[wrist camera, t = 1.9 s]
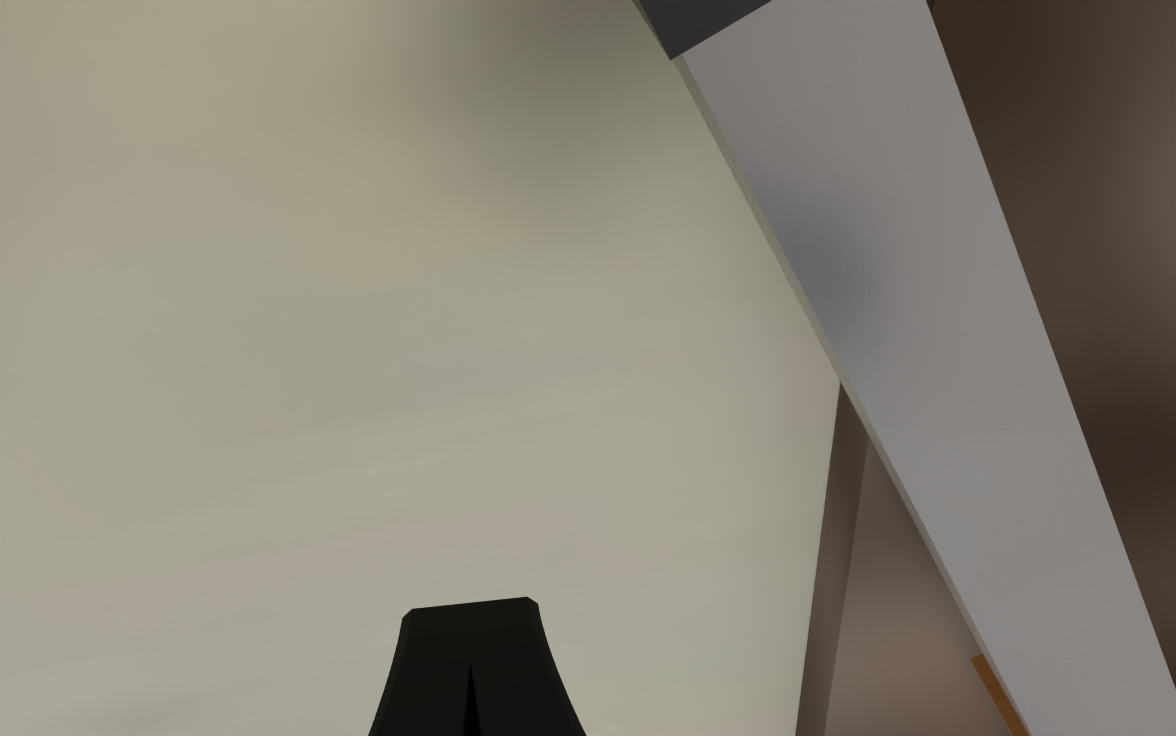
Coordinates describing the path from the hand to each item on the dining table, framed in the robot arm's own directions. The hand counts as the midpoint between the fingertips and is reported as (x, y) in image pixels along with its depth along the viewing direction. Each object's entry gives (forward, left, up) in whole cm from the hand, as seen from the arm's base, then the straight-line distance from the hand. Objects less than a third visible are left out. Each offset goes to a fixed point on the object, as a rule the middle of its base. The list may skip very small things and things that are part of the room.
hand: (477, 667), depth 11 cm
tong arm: (-2, -9, -3) cm, 9 cm away
